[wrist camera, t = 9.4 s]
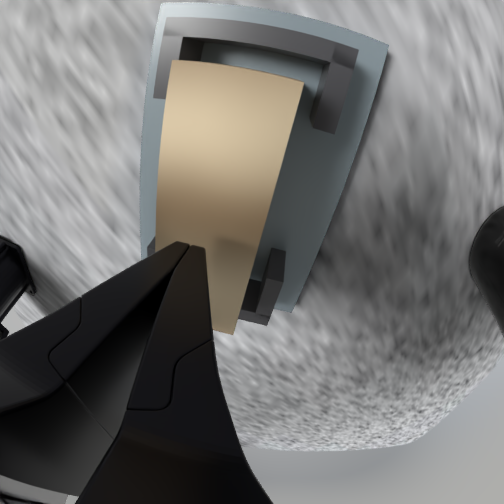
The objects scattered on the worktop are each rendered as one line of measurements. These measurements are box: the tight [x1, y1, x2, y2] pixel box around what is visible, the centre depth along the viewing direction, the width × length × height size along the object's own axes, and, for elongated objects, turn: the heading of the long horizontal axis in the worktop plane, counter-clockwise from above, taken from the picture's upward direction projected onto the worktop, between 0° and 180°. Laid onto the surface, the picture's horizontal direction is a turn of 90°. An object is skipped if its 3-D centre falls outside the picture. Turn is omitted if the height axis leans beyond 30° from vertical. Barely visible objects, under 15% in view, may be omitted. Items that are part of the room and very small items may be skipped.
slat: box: [155, 60, 304, 335], centre depth 11 cm, size 10×4×5 cm, turn 168°
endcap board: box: [140, 2, 389, 326], centre depth 12 cm, size 16×10×4 cm, turn 169°
